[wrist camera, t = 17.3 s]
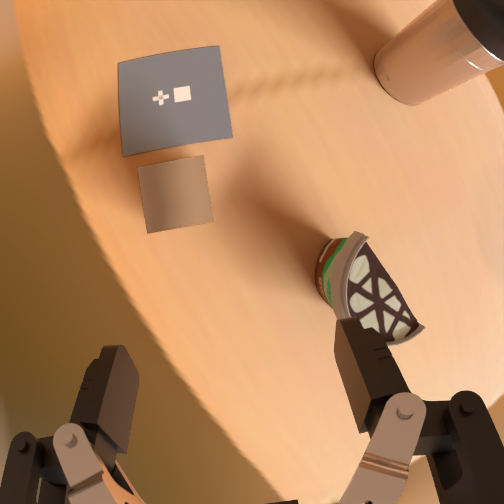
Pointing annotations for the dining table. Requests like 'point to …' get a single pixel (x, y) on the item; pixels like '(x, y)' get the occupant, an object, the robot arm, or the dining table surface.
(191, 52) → the tile
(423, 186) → the dining table surface
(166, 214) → the walnut block
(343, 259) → the food container
